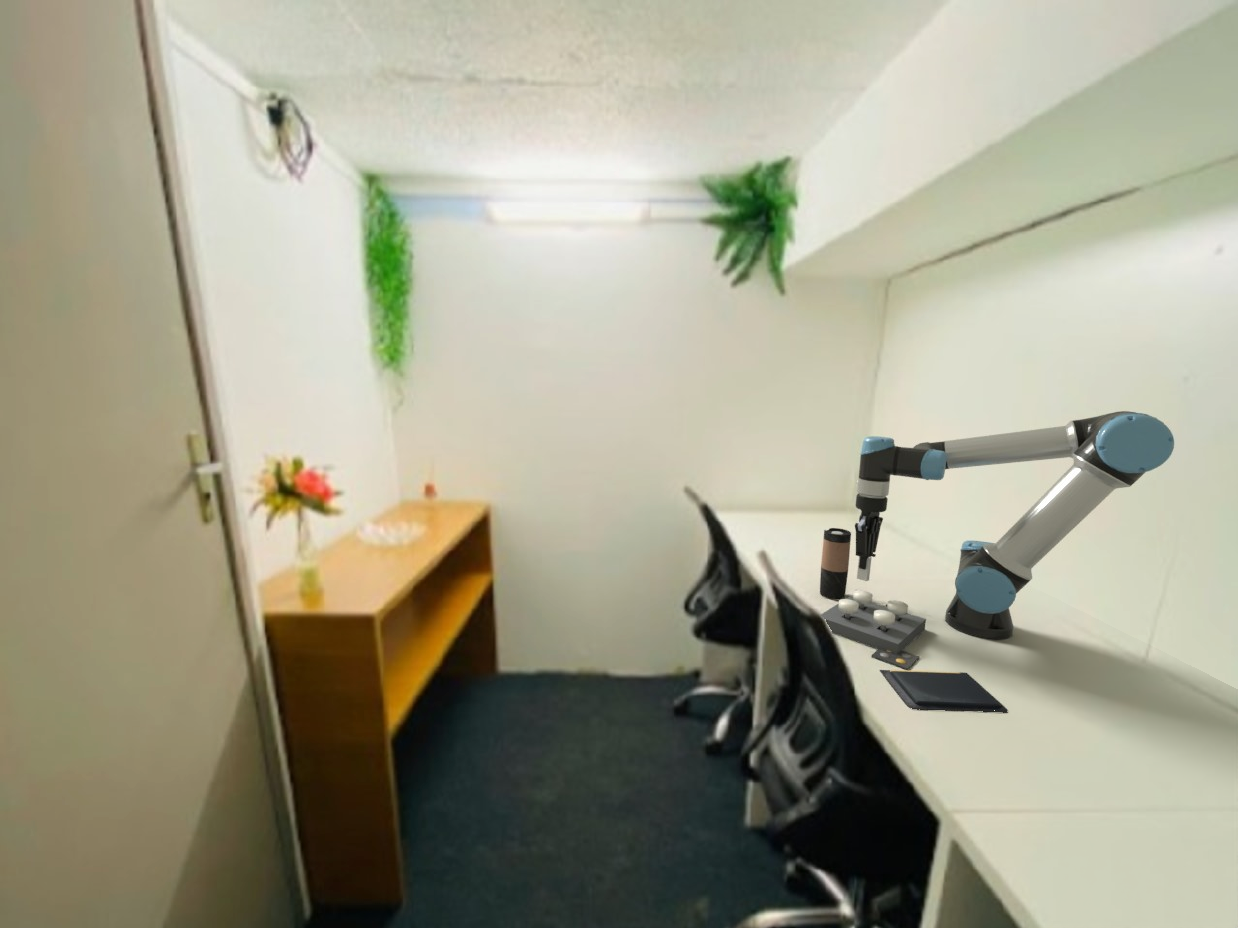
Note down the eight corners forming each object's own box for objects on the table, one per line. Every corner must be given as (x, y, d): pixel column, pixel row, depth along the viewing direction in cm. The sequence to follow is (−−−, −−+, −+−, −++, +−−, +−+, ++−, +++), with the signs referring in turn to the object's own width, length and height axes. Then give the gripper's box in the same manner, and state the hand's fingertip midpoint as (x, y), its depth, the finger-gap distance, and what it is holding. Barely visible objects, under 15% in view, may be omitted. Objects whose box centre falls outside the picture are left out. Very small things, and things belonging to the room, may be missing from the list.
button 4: (860, 620, 143) (861, 603, 142) (852, 625, 139) (854, 608, 138) (842, 614, 146) (843, 597, 145) (834, 619, 143) (835, 602, 142)
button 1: (908, 621, 142) (910, 604, 141) (902, 627, 139) (904, 609, 138) (889, 615, 146) (891, 598, 145) (882, 620, 142) (884, 603, 142)
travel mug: (848, 601, 160) (854, 535, 157) (820, 598, 162) (826, 534, 158) (843, 591, 167) (848, 528, 164) (817, 588, 169) (822, 526, 166)
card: (919, 657, 128) (919, 655, 128) (907, 670, 123) (907, 667, 123) (884, 645, 134) (884, 643, 134) (871, 656, 128) (871, 654, 128)
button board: (924, 629, 143) (926, 618, 142) (896, 655, 129) (898, 644, 128) (849, 605, 157) (850, 595, 156) (816, 626, 143) (817, 616, 143)
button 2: (896, 632, 136) (898, 614, 135) (889, 638, 133) (891, 619, 132) (876, 625, 140) (878, 608, 139) (869, 631, 136) (870, 613, 135)
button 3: (873, 610, 149) (875, 593, 148) (866, 615, 145) (868, 598, 145) (856, 604, 152) (857, 588, 151) (848, 609, 149) (850, 593, 148)
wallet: (909, 703, 108) (878, 663, 123) (908, 712, 108) (877, 671, 123) (1013, 709, 107) (969, 668, 122) (1012, 717, 107) (968, 675, 122)
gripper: (867, 489, 151) (859, 569, 155) (847, 495, 142) (838, 581, 146) (896, 494, 145) (886, 577, 149) (877, 501, 136) (867, 589, 140)
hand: (862, 579), depth 147 cm, fingers closed
